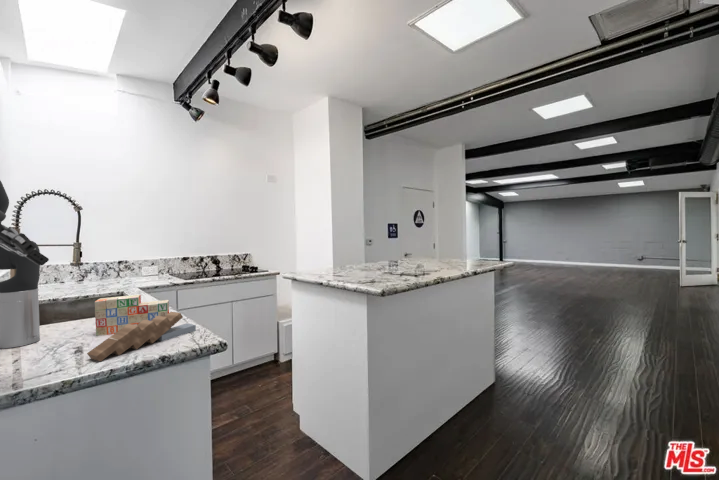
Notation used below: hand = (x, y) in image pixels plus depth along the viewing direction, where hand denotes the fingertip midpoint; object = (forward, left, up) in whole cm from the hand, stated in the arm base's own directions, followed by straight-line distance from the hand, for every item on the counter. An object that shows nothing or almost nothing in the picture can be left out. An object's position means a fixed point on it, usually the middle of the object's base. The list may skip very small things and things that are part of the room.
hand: (44, 262), depth 78 cm
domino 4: (+13, +19, -27) cm, 35 cm away
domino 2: (+8, +11, -27) cm, 30 cm away
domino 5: (+14, +22, -27) cm, 38 cm away
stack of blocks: (-1, +36, -28) cm, 46 cm away
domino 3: (+11, +14, -27) cm, 32 cm away
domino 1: (+6, +7, -27) cm, 28 cm away
